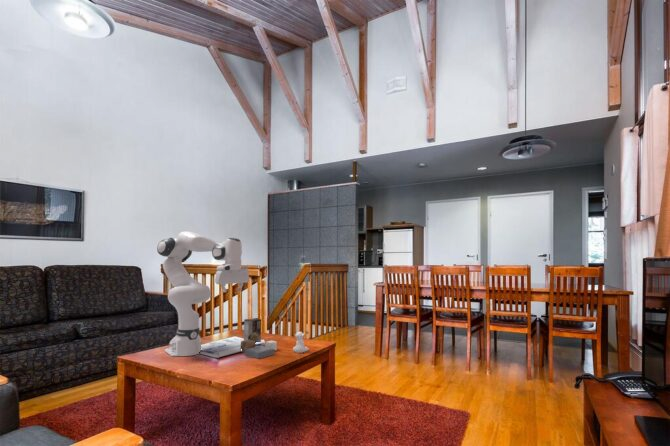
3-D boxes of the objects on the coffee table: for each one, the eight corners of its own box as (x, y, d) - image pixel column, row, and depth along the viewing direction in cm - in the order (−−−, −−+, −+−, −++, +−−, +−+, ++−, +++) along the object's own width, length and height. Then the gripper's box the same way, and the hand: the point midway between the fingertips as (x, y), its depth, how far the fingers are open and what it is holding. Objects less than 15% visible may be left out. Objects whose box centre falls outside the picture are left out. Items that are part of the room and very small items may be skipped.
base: (244, 354, 214) (244, 349, 215) (261, 350, 224) (261, 345, 224) (258, 358, 207) (258, 352, 207) (274, 354, 216) (274, 348, 216)
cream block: (264, 350, 225) (265, 341, 225) (271, 348, 229) (271, 340, 229) (270, 351, 222) (270, 343, 222) (276, 350, 226) (276, 341, 226)
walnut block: (240, 351, 222) (240, 341, 222) (248, 349, 226) (249, 339, 227) (246, 353, 218) (247, 342, 218) (255, 351, 222) (255, 341, 223)
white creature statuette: (308, 350, 226) (309, 330, 227) (307, 354, 218) (307, 333, 219) (293, 350, 227) (293, 329, 227) (291, 353, 218) (291, 332, 219)
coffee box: (256, 342, 242) (256, 317, 243) (260, 344, 237) (261, 319, 239) (243, 345, 236) (243, 319, 238) (247, 347, 232) (248, 320, 233)
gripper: (245, 266, 220) (244, 289, 219) (214, 267, 204) (213, 292, 203) (251, 266, 216) (250, 290, 215) (220, 267, 200) (219, 293, 199)
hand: (232, 291), depth 209 cm, fingers open, 8 cm apart
